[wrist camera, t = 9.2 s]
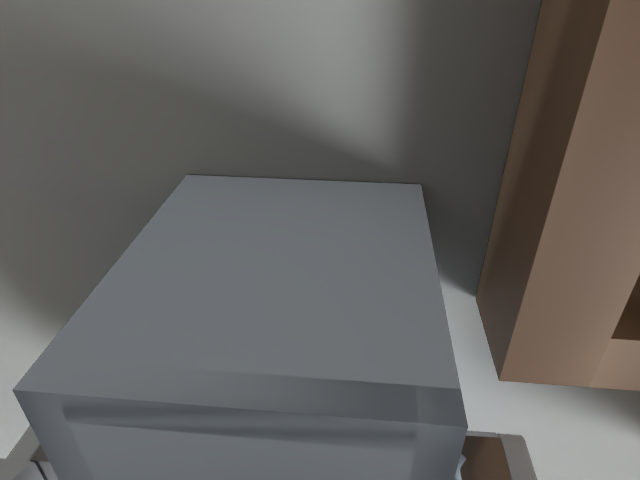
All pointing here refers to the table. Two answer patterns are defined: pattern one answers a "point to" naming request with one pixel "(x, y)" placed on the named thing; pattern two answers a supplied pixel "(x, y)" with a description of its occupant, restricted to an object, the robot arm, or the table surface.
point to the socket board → (571, 207)
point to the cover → (259, 343)
